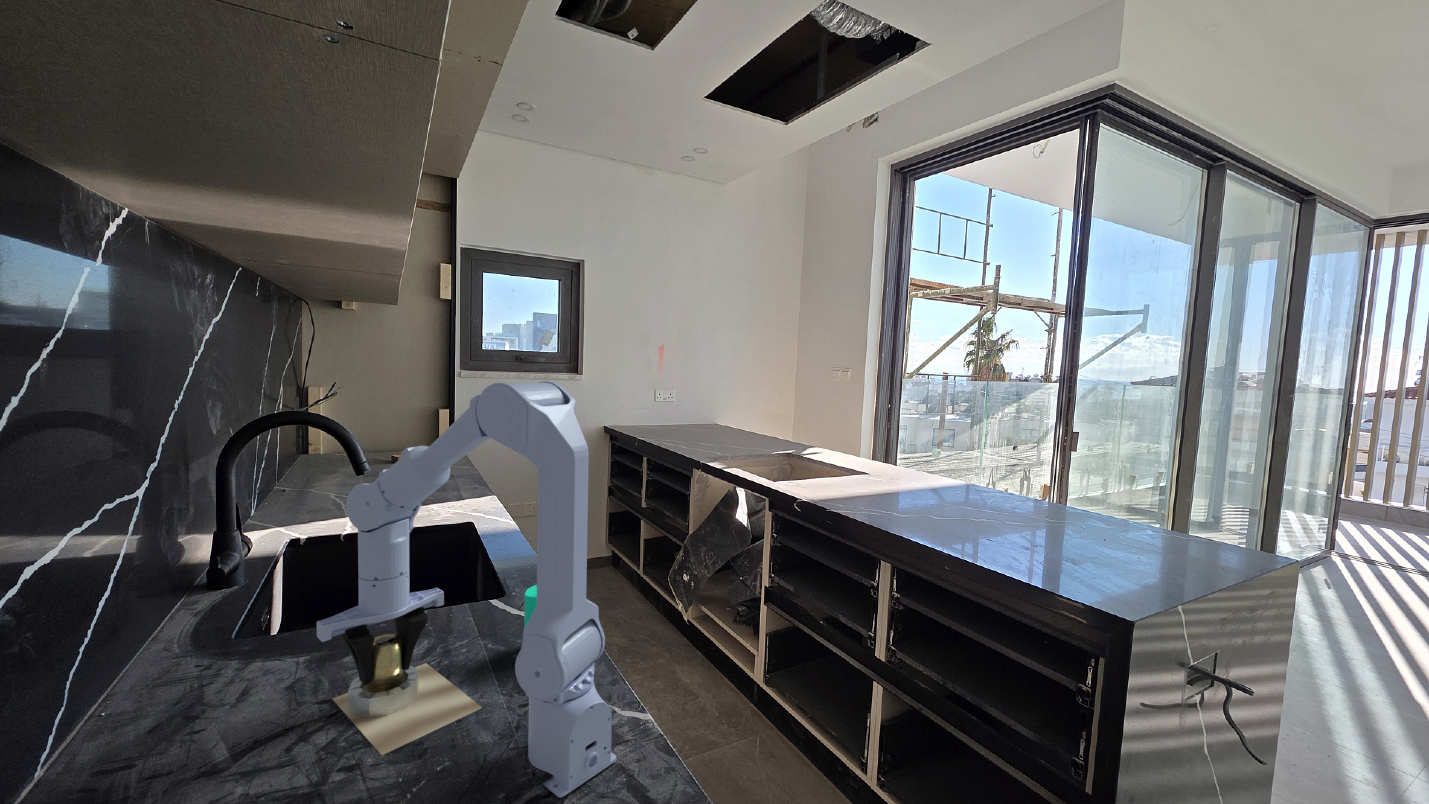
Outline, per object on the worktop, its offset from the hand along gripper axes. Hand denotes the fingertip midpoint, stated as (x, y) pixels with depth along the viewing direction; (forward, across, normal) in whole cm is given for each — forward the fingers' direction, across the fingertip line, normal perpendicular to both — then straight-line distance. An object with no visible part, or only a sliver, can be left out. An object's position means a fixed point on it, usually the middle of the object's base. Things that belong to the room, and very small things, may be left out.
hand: (384, 673), depth 74 cm
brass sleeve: (+2, 0, 0) cm, 2 cm away
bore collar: (+4, 0, 0) cm, 4 cm away
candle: (+5, -22, +4) cm, 22 cm away
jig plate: (+4, -2, +3) cm, 6 cm away
